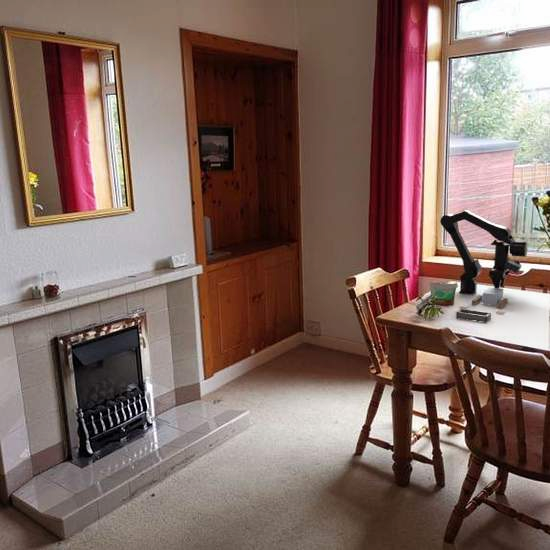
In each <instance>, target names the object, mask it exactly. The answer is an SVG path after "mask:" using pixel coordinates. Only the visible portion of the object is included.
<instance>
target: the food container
mask: <svg viewBox="0 0 550 550" xmlns="http://www.w3.org/2000/svg"><path fill="white" fill-rule="evenodd" d="M428 286H429V288H430V295H431V294H432V295H433V294H434V293H435V296H434V298H435V297H436V296H437V298H438V303H437V301H436V300H435V305H434V306H436V305H437V307H451V306H454V303H455V297H456V291H457V288H458V287H459V286H458V282H455V283H448V282H433V281H431V280H430V281H429V283H428ZM434 298H433V299H434Z"/></svg>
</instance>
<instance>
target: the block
mask: <svg viewBox="0 0 550 550" xmlns="http://www.w3.org/2000/svg"><path fill="white" fill-rule="evenodd" d="M482 295H483V297H482V300H481V302H482V303H483V304H482V305H488V304H490V305H489V306H496V305H497V306H498V303H499V302H500V301H501V300H502V299H504V288H501V287H499V288H495V287H488V288H487V289H486V290H485V291H484V292H483V293H482Z"/></svg>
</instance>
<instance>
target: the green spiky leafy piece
mask: <svg viewBox="0 0 550 550" xmlns="http://www.w3.org/2000/svg"><path fill="white" fill-rule="evenodd" d="M424 295H425V294H421V295H419V296H418V297H417V298H416V300H415V301H416V302H418V301H420V300H421V302H420V303H419V304H417V305H415V306H416V307H415V308H416V310H417V311H416V313H415V314H416V315H417V316H418V315H419V316H421V315H422V313H423V319H424V321H427V318H428V319H429V320H430V319H432V318H435V317H436V316H437V317H438V318H440V316H439V313H440V314H444V310H443V307H444V306H439V307H438V306H437V305H435V300H436V301H437V303H438V298H437V296H436V297H435V298H434V296H435V293H434V294H433V295H432V294H431V293H430V294H429V295H428V296H426V297H425V298H424V299H423V297H424ZM433 298H434V299H433Z"/></svg>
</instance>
